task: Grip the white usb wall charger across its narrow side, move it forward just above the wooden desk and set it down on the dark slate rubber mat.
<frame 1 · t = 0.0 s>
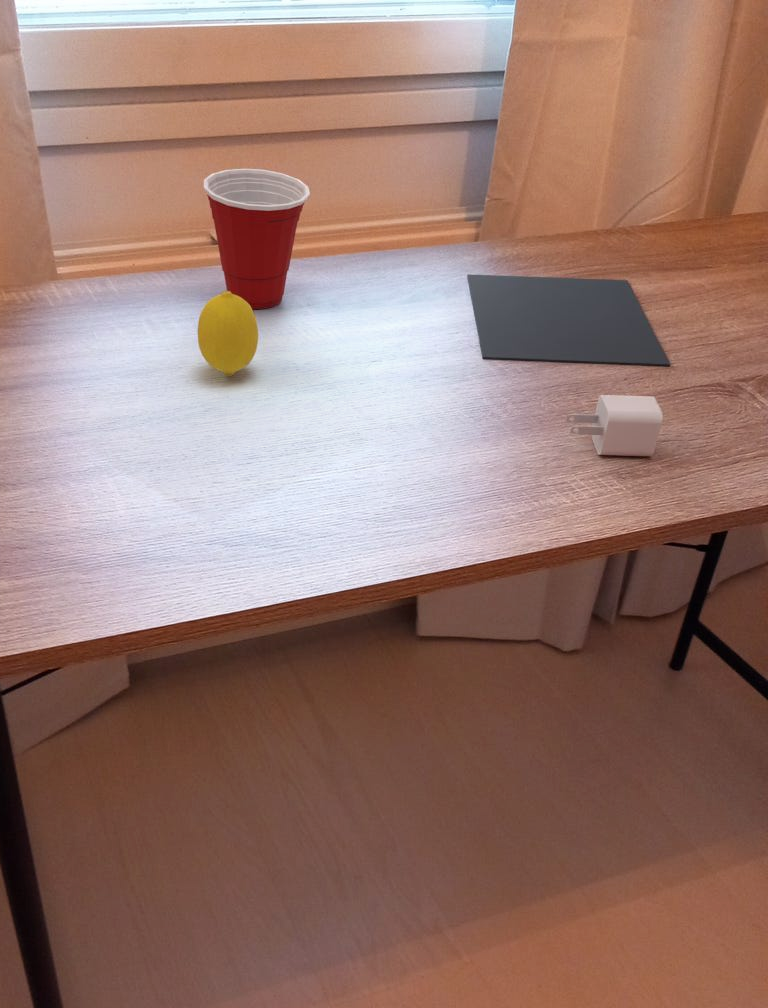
mat: (560, 317, 107), on the table
lemon: (229, 377, 96), on the table
plastic cup: (257, 301, 110), on the table
usb wall charger: (604, 448, 86), on the table
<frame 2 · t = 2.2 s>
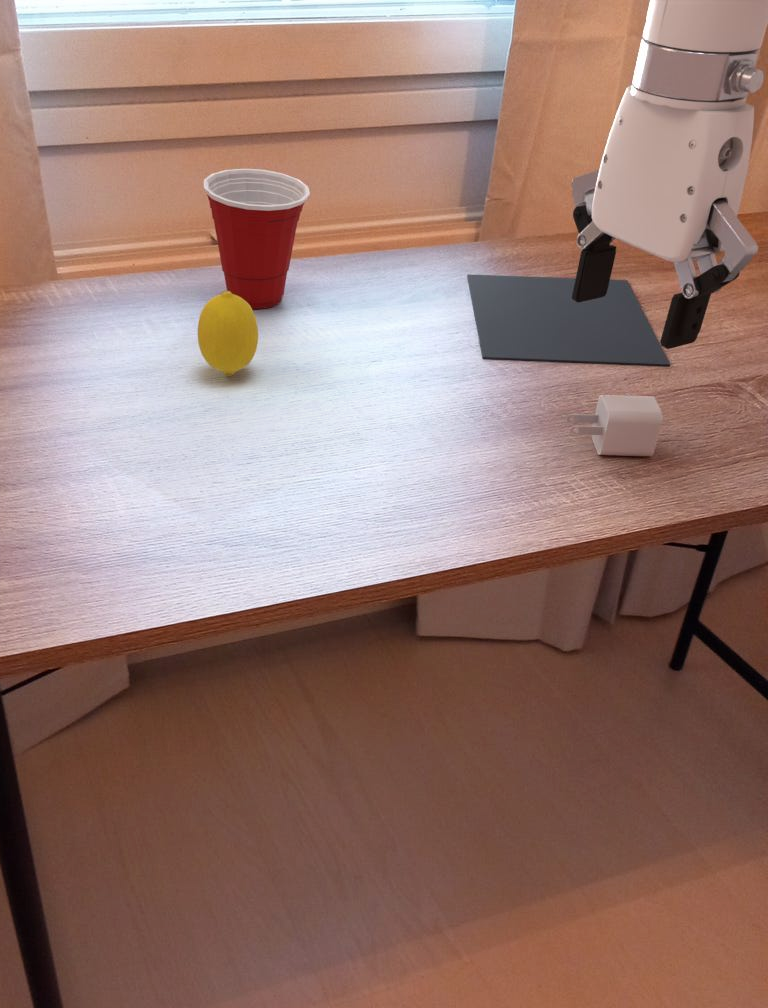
hand: (631, 320, 79), 11 cm above the table, tool pointing down, fingers open, 9 cm apart
nothing on the table moved.
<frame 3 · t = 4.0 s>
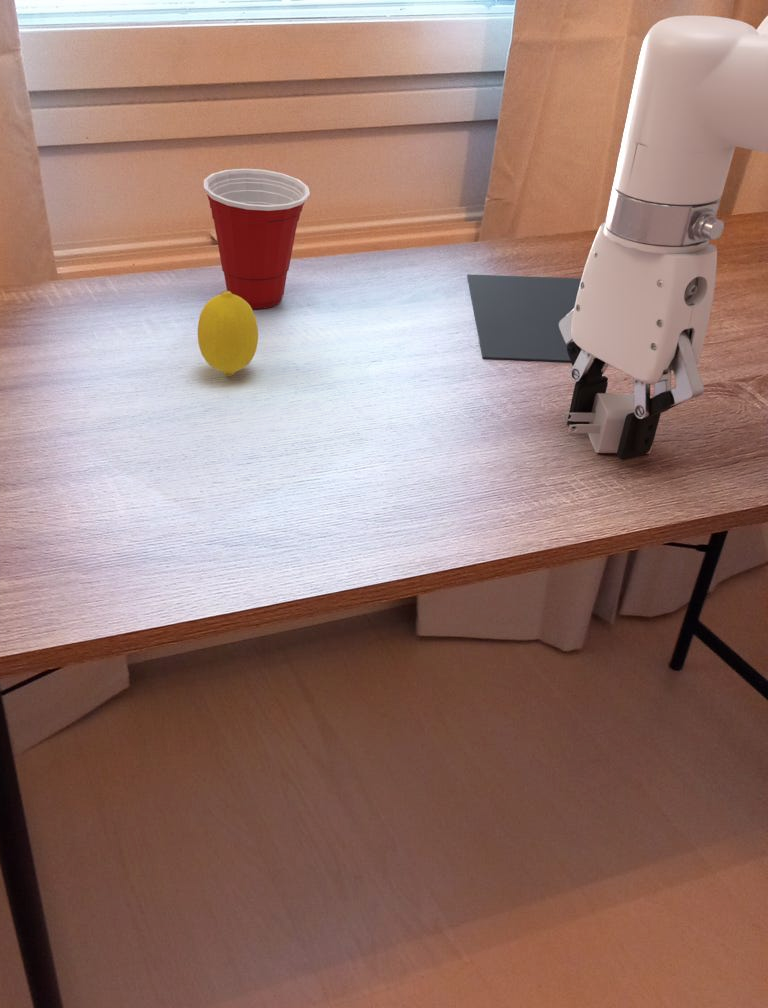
hand: (607, 437, 86), 1 cm above the table, tool pointing down, fingers closed on usb wall charger, 5 cm apart
usb wall charger: (601, 446, 87), on the table, touching gripper
everything else where it was.
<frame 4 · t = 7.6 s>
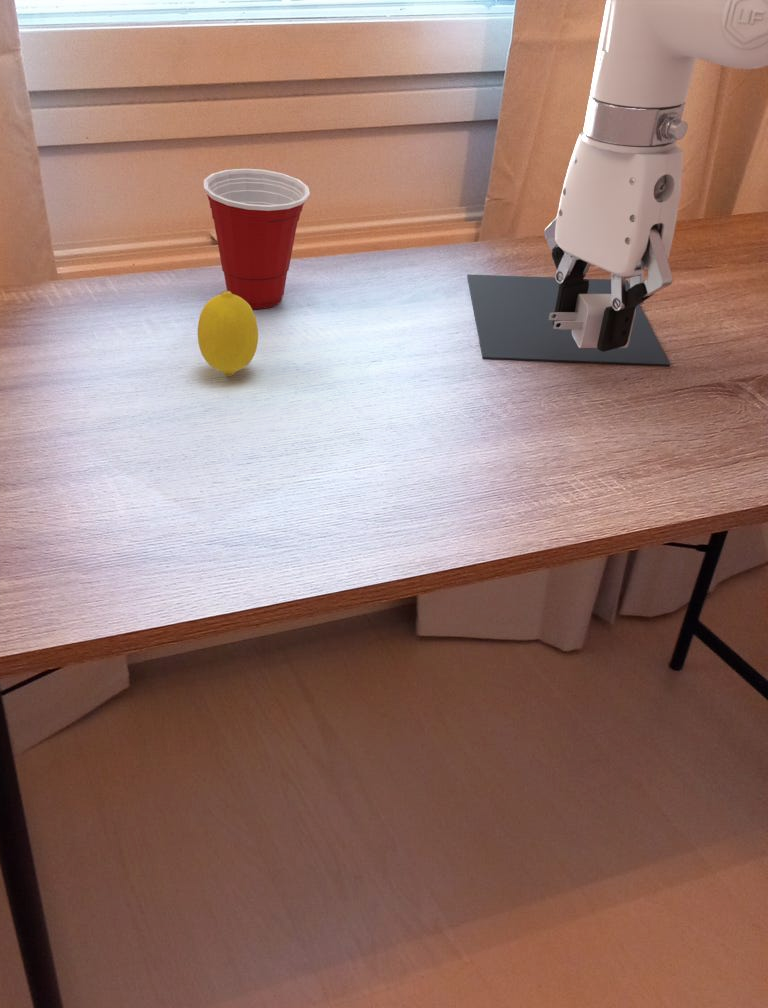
hand: (589, 334, 95), 4 cm above the table, tool pointing down, fingers closed on usb wall charger, 5 cm apart
usb wall charger: (584, 343, 96), point 3 cm above the table, touching gripper
everything else where it was.
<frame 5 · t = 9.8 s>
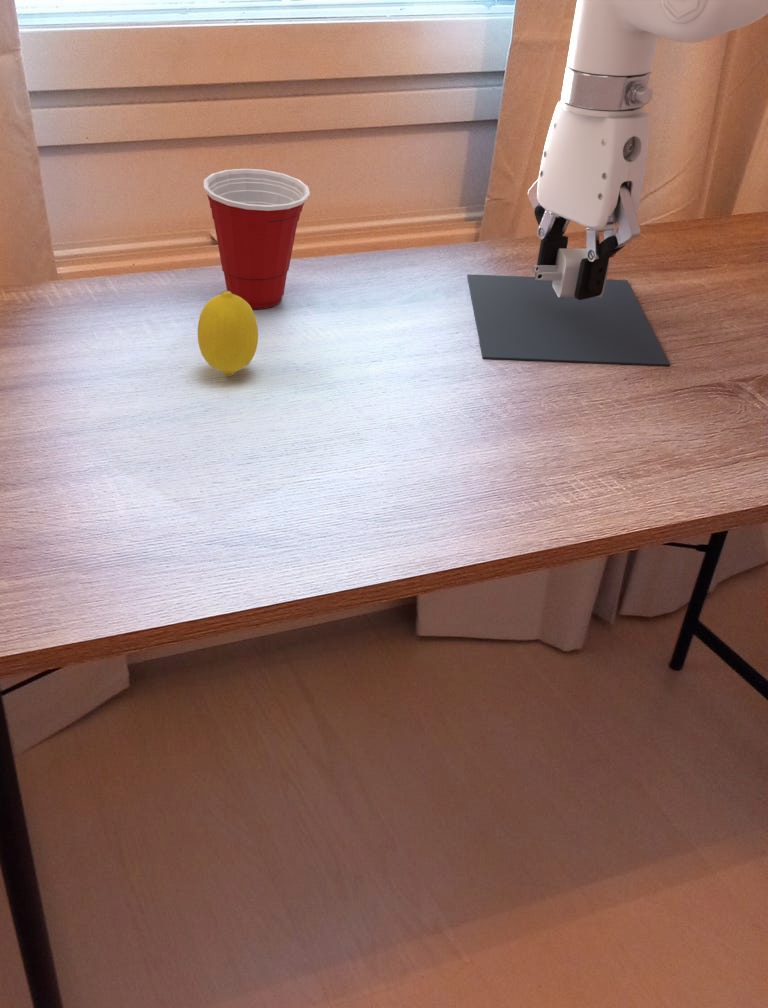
hand: (567, 285, 105), 4 cm above the table, tool pointing down, fingers closed on usb wall charger, 5 cm apart
usb wall charger: (563, 294, 106), point 2 cm above the table, touching gripper
everything else where it was.
when the fingers open (1 cm above the table, at t = 11.0 s): usb wall charger stays where it is, resting on mat.
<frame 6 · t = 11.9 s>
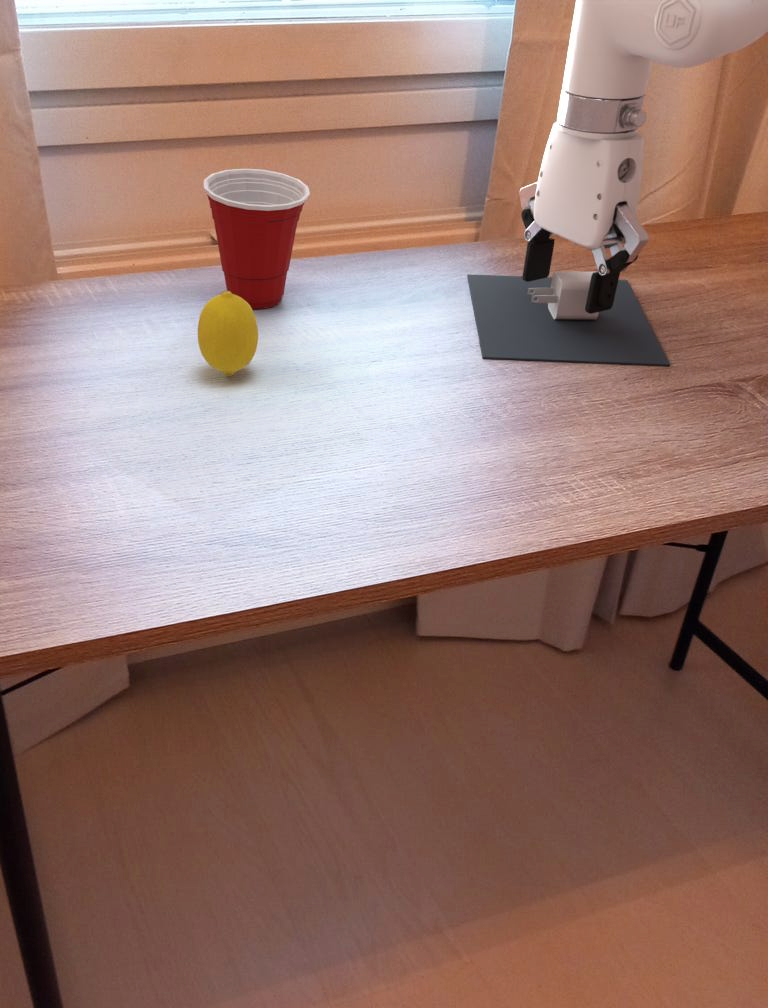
hand: (565, 294, 106), 3 cm above the table, tool pointing down, fingers open, 9 cm apart
usb wall charger: (559, 315, 108), resting on mat
everything else where it was.
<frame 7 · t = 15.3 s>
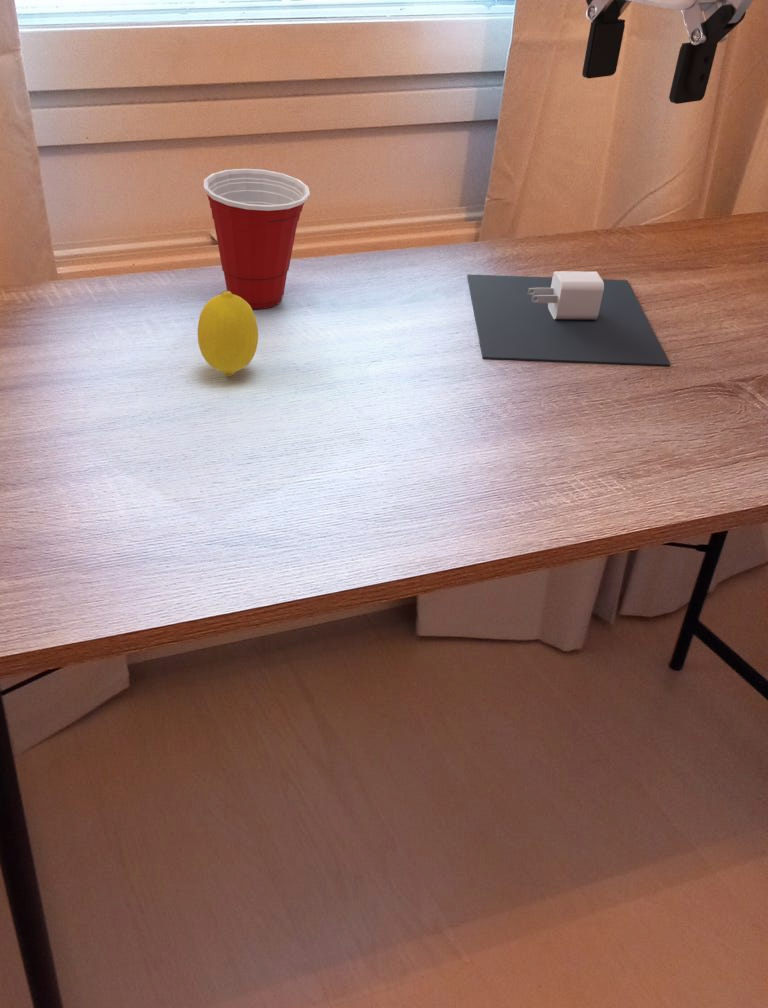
hand: (640, 88, 82), 24 cm above the table, tool pointing down, fingers open, 9 cm apart
nothing on the table moved.
at the end: usb wall charger 0.4 cm from the mat (horizontally); usb wall charger moved 27.8 cm from its start; the gripper is holding nothing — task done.
